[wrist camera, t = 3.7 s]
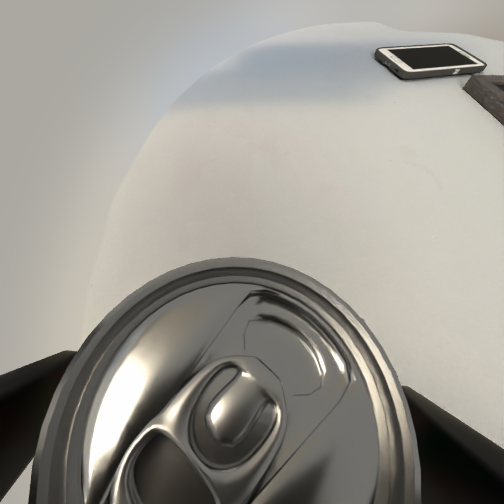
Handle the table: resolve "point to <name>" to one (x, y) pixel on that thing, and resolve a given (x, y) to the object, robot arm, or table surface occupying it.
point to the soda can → (229, 399)
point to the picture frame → (488, 93)
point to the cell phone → (429, 60)
